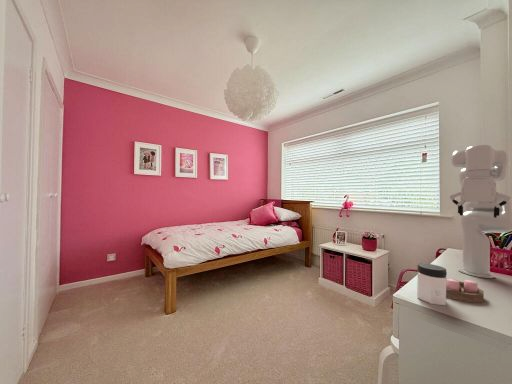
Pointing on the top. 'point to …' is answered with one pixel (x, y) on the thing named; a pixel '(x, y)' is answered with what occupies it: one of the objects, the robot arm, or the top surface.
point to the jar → (431, 283)
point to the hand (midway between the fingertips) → (477, 216)
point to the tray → (465, 294)
